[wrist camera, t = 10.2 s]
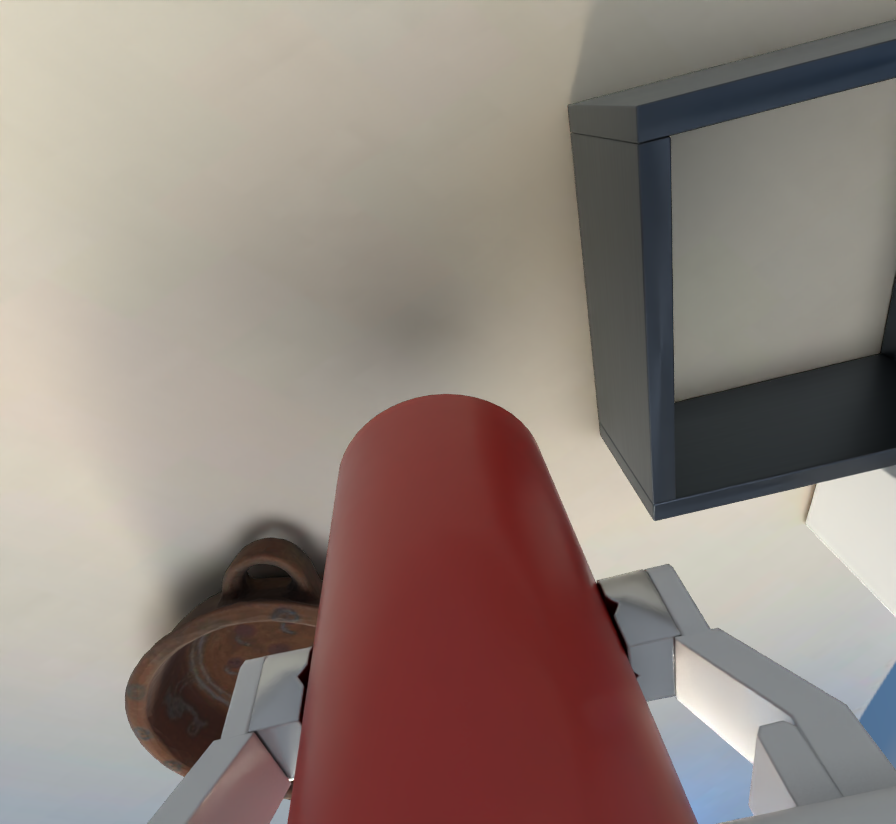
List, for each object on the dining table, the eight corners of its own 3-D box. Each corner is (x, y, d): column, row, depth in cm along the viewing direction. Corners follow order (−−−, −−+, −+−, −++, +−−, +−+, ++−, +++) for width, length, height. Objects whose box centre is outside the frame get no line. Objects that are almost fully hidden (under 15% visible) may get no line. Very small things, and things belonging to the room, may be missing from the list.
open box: (567, 105, 21) (636, 106, 15) (975, -2, 21) (1213, -44, 15) (599, 435, 29) (653, 522, 23) (895, 365, 29) (1028, 435, 23)
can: (307, 422, 15) (96, 1222, 4) (526, 369, 14) (879, 1072, 4) (373, 576, 18) (343, 1264, 7) (554, 534, 17) (797, 1179, 7)
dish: (433, 510, 31) (439, 576, 27) (432, 733, 42) (436, 806, 38) (111, 524, 29) (63, 597, 25) (197, 752, 40) (174, 830, 36)
